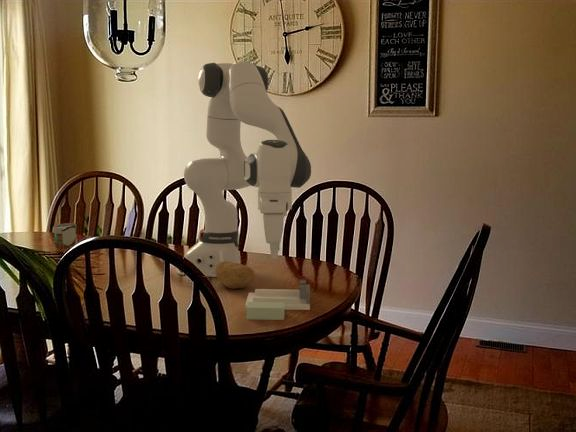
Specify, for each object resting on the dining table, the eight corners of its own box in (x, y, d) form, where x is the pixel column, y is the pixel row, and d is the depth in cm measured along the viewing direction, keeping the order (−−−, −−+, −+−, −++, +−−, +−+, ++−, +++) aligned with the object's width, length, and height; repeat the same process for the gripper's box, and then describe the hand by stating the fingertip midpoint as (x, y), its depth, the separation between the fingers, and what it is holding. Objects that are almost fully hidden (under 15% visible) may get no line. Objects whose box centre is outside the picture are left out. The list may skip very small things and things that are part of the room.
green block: (246, 320, 162) (246, 307, 161) (247, 314, 167) (247, 301, 166) (284, 320, 162) (284, 308, 161) (284, 314, 167) (284, 302, 166)
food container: (63, 246, 247) (61, 222, 245) (77, 247, 246) (76, 223, 244) (47, 253, 235) (45, 227, 233) (62, 254, 234) (60, 228, 232)
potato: (242, 295, 183) (242, 269, 182) (208, 287, 191) (207, 262, 190) (262, 288, 191) (262, 263, 189) (229, 280, 199) (228, 256, 198)
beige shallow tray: (245, 308, 170) (245, 288, 169) (248, 296, 182) (248, 277, 181) (309, 309, 170) (310, 289, 169) (309, 297, 182) (309, 278, 181)
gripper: (265, 198, 170) (266, 247, 172) (259, 207, 149) (260, 262, 151) (288, 198, 170) (288, 247, 171) (285, 207, 149) (286, 262, 151)
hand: (275, 254), depth 161 cm, fingers open, 8 cm apart
